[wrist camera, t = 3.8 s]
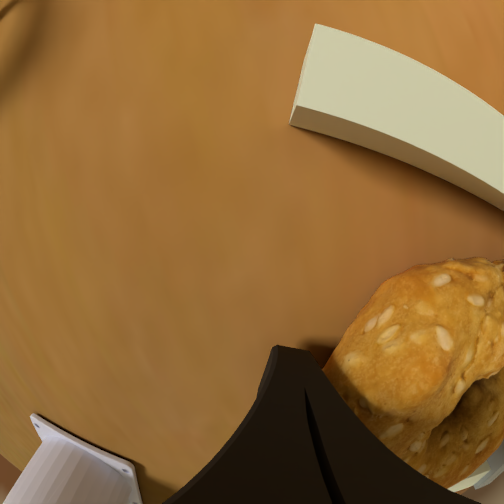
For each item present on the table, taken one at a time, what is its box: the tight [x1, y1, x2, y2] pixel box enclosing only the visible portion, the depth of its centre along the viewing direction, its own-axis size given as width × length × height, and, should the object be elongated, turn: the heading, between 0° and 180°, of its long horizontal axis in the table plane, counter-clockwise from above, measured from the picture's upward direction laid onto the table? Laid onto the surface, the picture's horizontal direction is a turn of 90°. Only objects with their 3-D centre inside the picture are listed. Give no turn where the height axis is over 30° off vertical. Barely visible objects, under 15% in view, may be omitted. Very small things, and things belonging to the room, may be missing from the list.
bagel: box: [322, 257, 504, 489], centre depth 7 cm, size 10×11×5 cm
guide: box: [289, 24, 504, 492], centre depth 8 cm, size 18×21×3 cm
